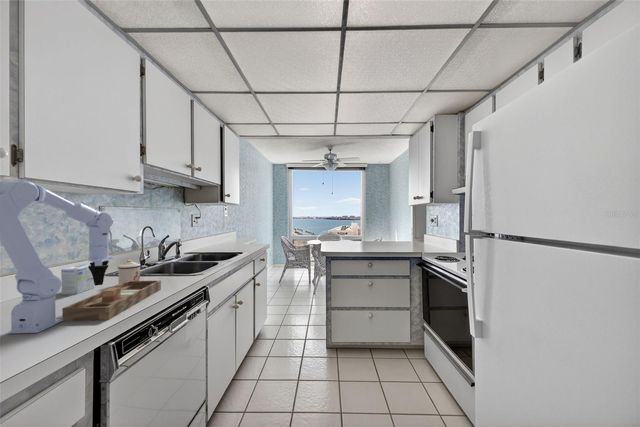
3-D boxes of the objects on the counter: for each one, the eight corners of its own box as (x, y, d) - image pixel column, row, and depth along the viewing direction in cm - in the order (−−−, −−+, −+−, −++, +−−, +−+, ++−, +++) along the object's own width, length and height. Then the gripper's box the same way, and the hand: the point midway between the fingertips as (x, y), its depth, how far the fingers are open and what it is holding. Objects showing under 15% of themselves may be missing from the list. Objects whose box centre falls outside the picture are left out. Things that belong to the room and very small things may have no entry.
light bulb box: (79, 287, 131) (79, 264, 131) (95, 287, 132) (95, 264, 132) (60, 294, 120) (60, 269, 120) (77, 294, 121) (77, 268, 121)
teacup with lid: (137, 285, 135) (137, 260, 135) (115, 287, 132) (114, 262, 132) (144, 279, 146) (144, 257, 146) (123, 281, 143) (123, 257, 143)
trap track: (108, 319, 93) (108, 307, 93) (62, 320, 92) (62, 308, 92) (160, 289, 129) (160, 280, 129) (127, 290, 128) (127, 281, 128)
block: (113, 301, 104) (113, 290, 104) (102, 301, 103) (102, 290, 103) (120, 298, 108) (120, 287, 108) (109, 298, 107) (109, 287, 107)
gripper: (112, 246, 101) (112, 285, 101) (112, 243, 113) (112, 277, 113) (87, 248, 97) (86, 288, 97) (89, 244, 109) (89, 280, 109)
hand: (99, 282), depth 105 cm, fingers open, 7 cm apart
